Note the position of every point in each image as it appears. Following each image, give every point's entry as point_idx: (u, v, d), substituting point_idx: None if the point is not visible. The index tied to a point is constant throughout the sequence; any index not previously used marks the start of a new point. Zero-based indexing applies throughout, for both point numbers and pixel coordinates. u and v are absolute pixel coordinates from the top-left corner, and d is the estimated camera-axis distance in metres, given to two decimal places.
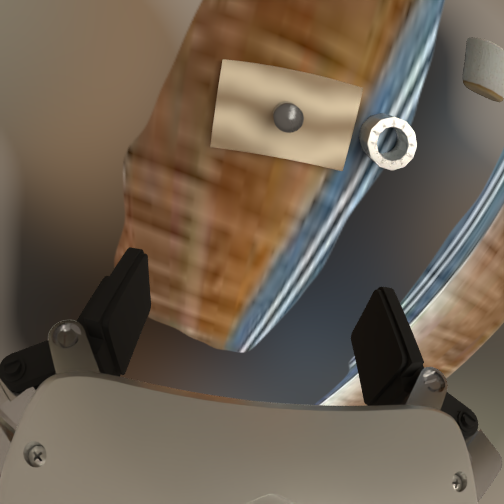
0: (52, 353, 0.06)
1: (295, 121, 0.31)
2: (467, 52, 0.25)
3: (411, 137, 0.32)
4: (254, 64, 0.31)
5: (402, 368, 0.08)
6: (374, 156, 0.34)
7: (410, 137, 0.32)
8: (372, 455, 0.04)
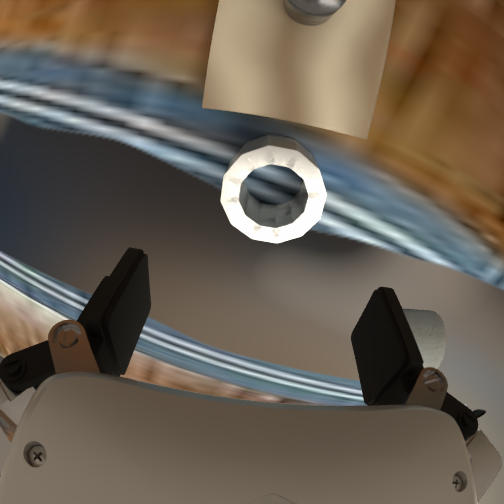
0: (52, 353, 0.06)
1: None
2: (421, 314, 0.27)
3: (290, 231, 0.21)
4: None
5: (402, 368, 0.08)
6: (244, 161, 0.19)
7: (289, 228, 0.21)
8: (372, 455, 0.04)
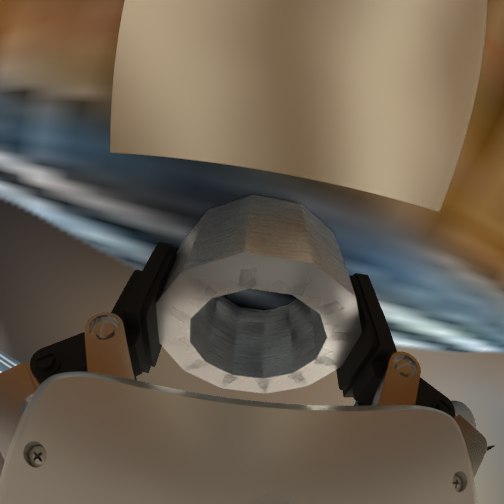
0: (86, 342, 0.07)
1: None
2: None
3: (288, 381, 0.11)
4: None
5: (372, 351, 0.09)
6: (191, 283, 0.09)
7: (287, 379, 0.11)
8: (371, 455, 0.04)
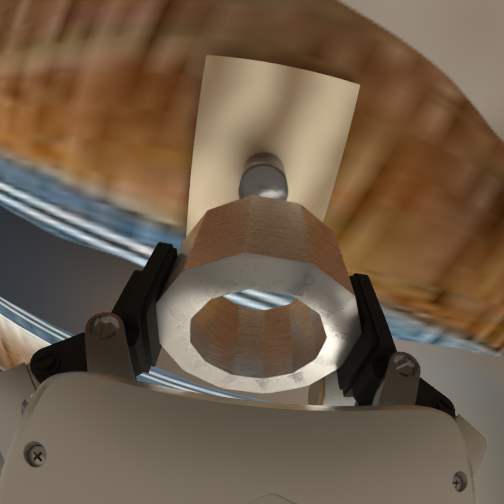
0: (86, 342, 0.07)
1: None
2: None
3: (288, 381, 0.11)
4: (347, 130, 0.21)
5: (372, 351, 0.09)
6: (191, 283, 0.09)
7: (287, 379, 0.11)
8: (372, 455, 0.04)
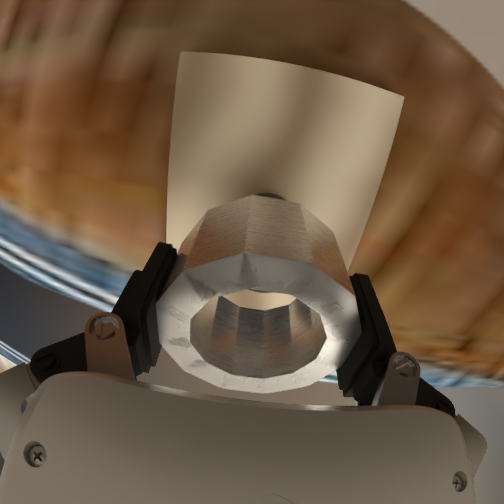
0: (86, 342, 0.07)
1: None
2: None
3: (288, 381, 0.11)
4: (384, 161, 0.15)
5: (372, 352, 0.09)
6: (191, 283, 0.09)
7: (287, 379, 0.11)
8: (372, 455, 0.04)
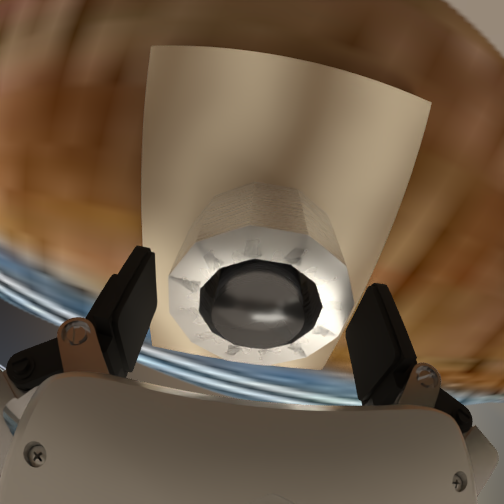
0: (61, 350, 0.06)
1: (248, 333, 0.11)
2: None
3: (288, 352, 0.12)
4: (405, 181, 0.12)
5: (395, 363, 0.08)
6: (202, 254, 0.10)
7: (287, 350, 0.12)
8: (372, 455, 0.04)
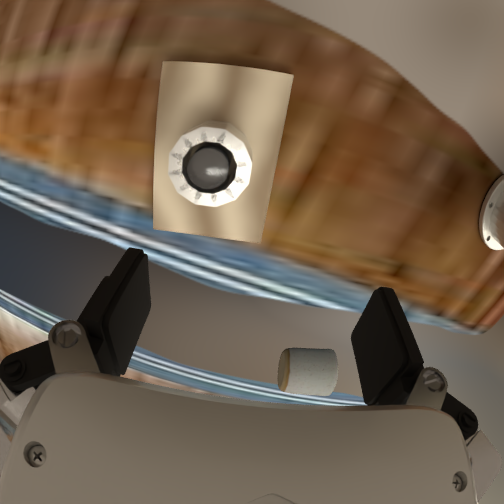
0: (52, 353, 0.06)
1: (203, 178, 0.24)
2: (320, 354, 0.42)
3: (225, 196, 0.25)
4: (284, 114, 0.25)
5: (402, 368, 0.08)
6: (184, 141, 0.23)
7: (224, 194, 0.25)
8: (372, 455, 0.04)
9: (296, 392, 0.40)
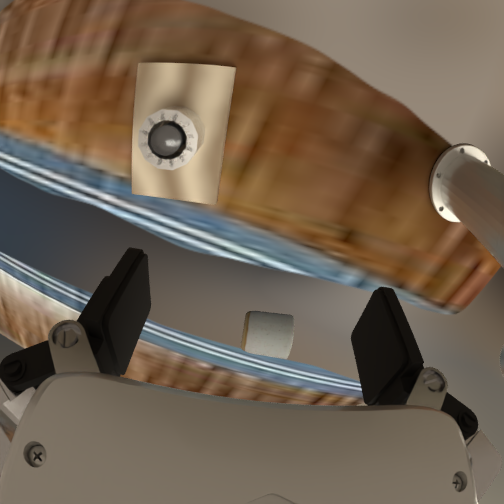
0: (52, 353, 0.06)
1: (162, 147, 0.30)
2: (278, 316, 0.48)
3: (179, 161, 0.32)
4: (228, 99, 0.31)
5: (402, 368, 0.08)
6: (148, 120, 0.29)
7: (179, 159, 0.32)
8: (372, 455, 0.04)
9: (255, 351, 0.46)
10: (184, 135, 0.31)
